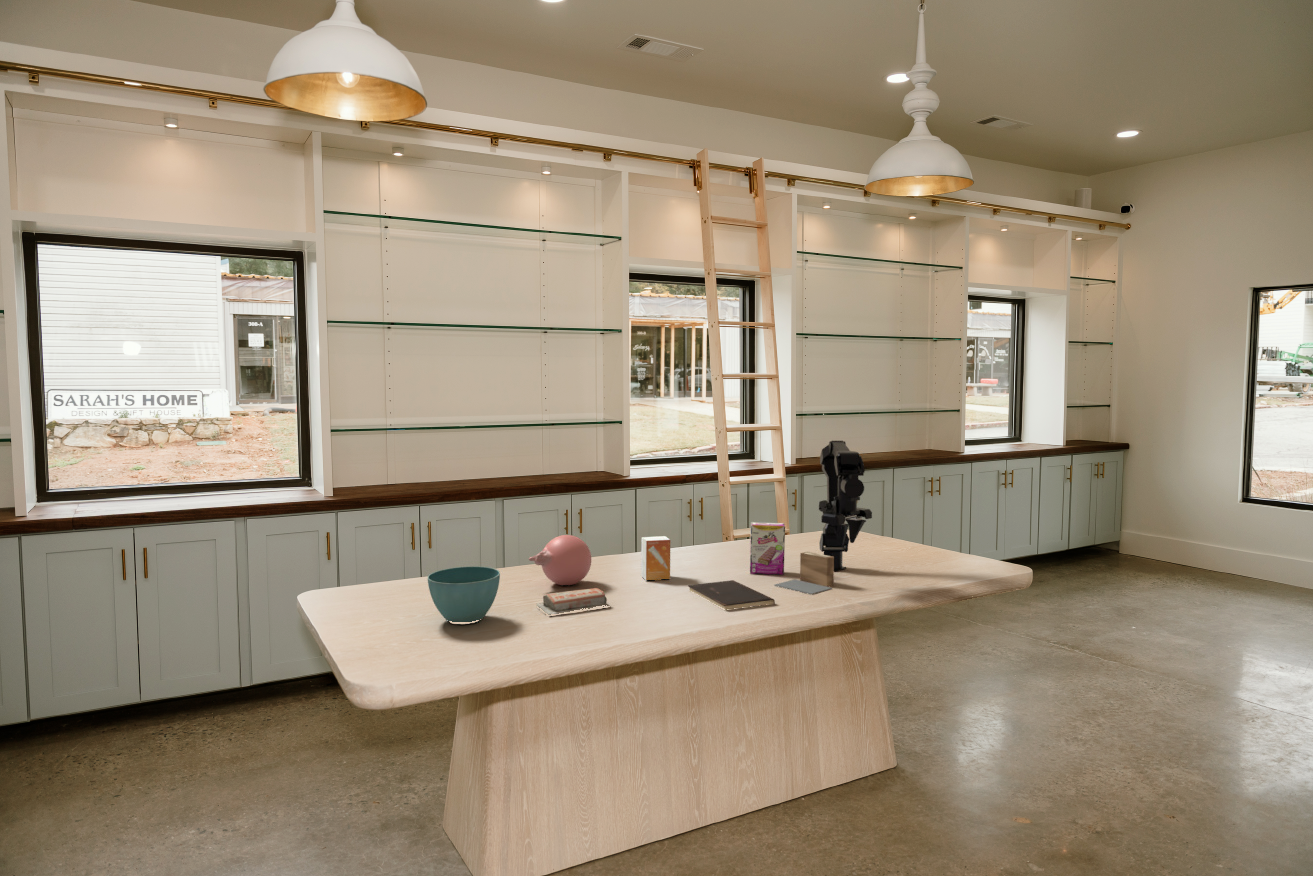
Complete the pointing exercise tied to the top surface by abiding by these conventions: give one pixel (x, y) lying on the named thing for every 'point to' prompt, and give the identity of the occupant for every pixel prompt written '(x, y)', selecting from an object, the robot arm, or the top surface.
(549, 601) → the packaged product
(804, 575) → the walnut slab
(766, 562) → the candy bar box
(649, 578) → the small box
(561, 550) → the balloon
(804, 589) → the grey rubber mat
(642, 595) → the top surface
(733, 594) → the hardcover book
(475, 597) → the teal bowl
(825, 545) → the robot arm
